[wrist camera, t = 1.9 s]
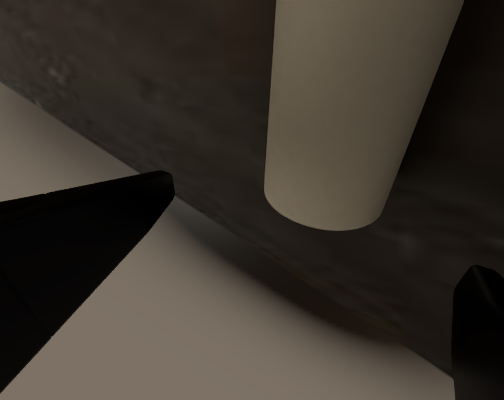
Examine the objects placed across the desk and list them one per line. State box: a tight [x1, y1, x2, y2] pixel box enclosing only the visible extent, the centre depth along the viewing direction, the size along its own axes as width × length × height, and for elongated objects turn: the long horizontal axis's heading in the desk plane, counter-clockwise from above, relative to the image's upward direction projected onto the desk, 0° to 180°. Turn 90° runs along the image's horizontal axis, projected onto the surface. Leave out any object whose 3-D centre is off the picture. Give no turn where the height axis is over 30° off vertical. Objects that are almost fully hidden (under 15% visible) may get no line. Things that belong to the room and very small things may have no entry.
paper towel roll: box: [264, 0, 464, 231], centre depth 11 cm, size 6×12×6 cm, turn 178°
